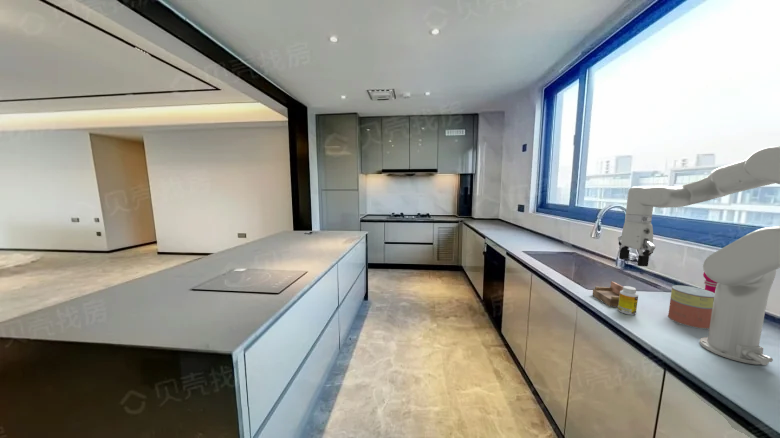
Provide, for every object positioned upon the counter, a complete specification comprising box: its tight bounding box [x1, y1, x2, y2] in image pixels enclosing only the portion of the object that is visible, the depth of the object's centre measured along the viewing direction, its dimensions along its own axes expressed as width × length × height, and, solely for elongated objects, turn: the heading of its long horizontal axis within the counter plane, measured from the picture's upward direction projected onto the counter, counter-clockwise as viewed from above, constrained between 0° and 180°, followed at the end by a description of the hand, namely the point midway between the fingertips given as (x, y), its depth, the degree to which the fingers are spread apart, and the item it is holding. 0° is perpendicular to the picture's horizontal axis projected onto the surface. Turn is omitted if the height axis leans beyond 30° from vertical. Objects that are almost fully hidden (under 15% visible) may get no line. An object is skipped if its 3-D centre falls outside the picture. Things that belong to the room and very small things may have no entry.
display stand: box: [592, 281, 623, 308], centre depth 119 cm, size 12×8×7 cm, turn 173°
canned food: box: [667, 284, 715, 330], centre depth 101 cm, size 11×11×12 cm
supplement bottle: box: [617, 285, 639, 316], centre depth 108 cm, size 6×6×10 cm
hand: (632, 262), depth 107 cm, fingers open, 9 cm apart
